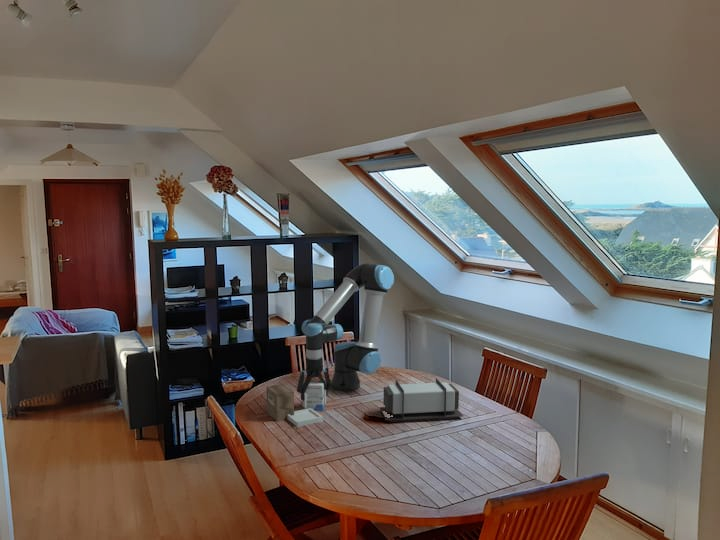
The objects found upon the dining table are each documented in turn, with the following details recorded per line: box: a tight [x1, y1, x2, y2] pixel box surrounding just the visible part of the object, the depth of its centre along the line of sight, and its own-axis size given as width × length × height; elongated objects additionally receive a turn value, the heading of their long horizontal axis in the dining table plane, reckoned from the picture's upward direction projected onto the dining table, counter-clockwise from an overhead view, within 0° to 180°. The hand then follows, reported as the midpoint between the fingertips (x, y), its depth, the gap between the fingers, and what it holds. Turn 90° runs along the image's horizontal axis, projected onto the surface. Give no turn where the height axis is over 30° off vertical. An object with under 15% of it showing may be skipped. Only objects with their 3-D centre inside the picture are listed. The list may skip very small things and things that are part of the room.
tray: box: [286, 408, 324, 428], centre depth 246 cm, size 12×12×2 cm
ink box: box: [304, 381, 325, 411], centre depth 259 cm, size 9×5×12 cm, turn 84°
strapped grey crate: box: [378, 378, 464, 423], centre depth 251 cm, size 15×15×35 cm
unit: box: [265, 383, 295, 422], centre depth 250 cm, size 8×12×12 cm
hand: (314, 404), depth 259 cm, fingers closed on ink box, 9 cm apart
